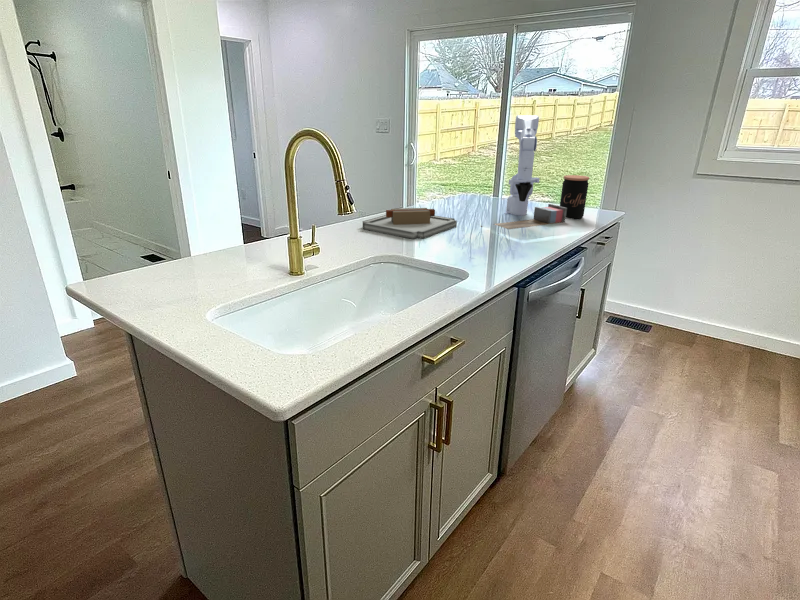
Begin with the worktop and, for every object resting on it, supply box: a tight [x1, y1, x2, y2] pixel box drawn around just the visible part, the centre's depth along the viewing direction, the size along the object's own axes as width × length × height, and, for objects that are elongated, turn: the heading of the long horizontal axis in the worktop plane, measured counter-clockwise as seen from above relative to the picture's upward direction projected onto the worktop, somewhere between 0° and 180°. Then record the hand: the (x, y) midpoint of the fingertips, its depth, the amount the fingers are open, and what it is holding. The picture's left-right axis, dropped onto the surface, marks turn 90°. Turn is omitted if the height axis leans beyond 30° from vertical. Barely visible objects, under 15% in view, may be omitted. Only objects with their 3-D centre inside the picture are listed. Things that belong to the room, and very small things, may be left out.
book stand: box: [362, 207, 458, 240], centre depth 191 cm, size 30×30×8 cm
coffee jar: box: [559, 174, 590, 221], centre depth 207 cm, size 11×11×18 cm
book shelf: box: [494, 203, 567, 230], centre depth 194 cm, size 10×30×7 cm, turn 116°
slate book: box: [541, 206, 557, 224], centre depth 198 cm, size 8×4×5 cm, turn 26°
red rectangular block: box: [543, 206, 563, 224], centre depth 199 cm, size 8×4×5 cm, turn 26°
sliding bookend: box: [532, 206, 551, 223], centre depth 197 cm, size 9×1×5 cm, turn 26°
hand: (522, 201), depth 196 cm, fingers closed
